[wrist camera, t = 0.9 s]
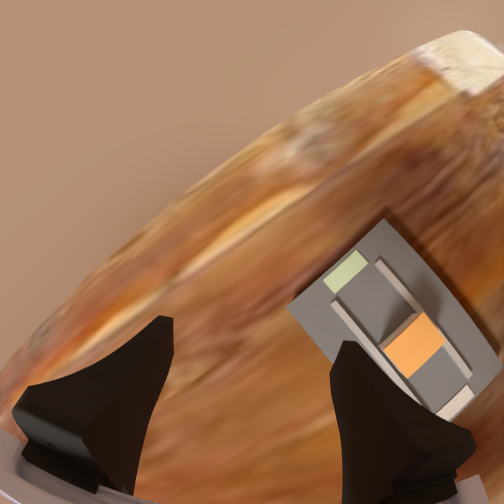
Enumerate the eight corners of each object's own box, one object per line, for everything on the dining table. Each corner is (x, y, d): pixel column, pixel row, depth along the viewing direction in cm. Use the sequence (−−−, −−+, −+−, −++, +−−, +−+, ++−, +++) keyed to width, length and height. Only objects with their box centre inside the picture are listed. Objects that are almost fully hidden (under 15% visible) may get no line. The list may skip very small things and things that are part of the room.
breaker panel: (495, 364, 20) (506, 366, 17) (406, 448, 21) (410, 458, 18) (381, 224, 27) (384, 215, 25) (290, 307, 28) (284, 306, 26)
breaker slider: (432, 338, 21) (446, 341, 17) (398, 370, 21) (407, 378, 18) (412, 313, 22) (423, 311, 19) (378, 345, 23) (383, 349, 19)
